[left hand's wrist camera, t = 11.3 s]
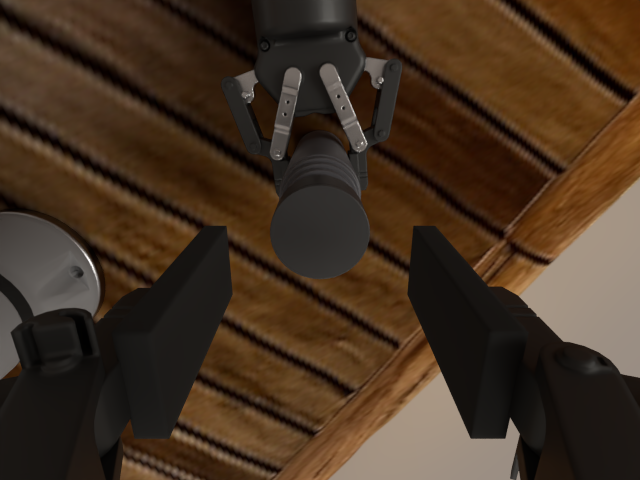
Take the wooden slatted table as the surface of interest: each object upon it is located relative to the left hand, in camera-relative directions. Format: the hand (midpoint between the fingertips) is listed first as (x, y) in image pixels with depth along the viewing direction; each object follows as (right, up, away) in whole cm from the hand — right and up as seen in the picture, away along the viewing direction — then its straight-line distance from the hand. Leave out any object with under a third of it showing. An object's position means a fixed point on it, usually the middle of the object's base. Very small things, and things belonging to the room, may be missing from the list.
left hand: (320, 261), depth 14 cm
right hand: (0, +4, +19) cm, 20 cm away
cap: (0, +1, +3) cm, 3 cm away
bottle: (0, +9, +24) cm, 26 cm away
